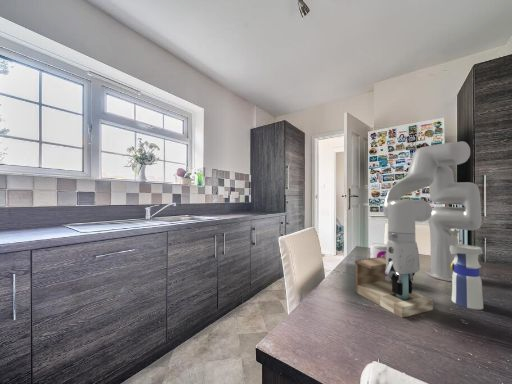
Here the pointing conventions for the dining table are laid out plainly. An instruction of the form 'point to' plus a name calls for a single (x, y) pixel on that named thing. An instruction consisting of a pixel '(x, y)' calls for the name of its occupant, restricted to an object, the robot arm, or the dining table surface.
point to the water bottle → (466, 275)
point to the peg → (404, 288)
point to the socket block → (386, 289)
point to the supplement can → (379, 254)
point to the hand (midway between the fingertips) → (401, 292)
